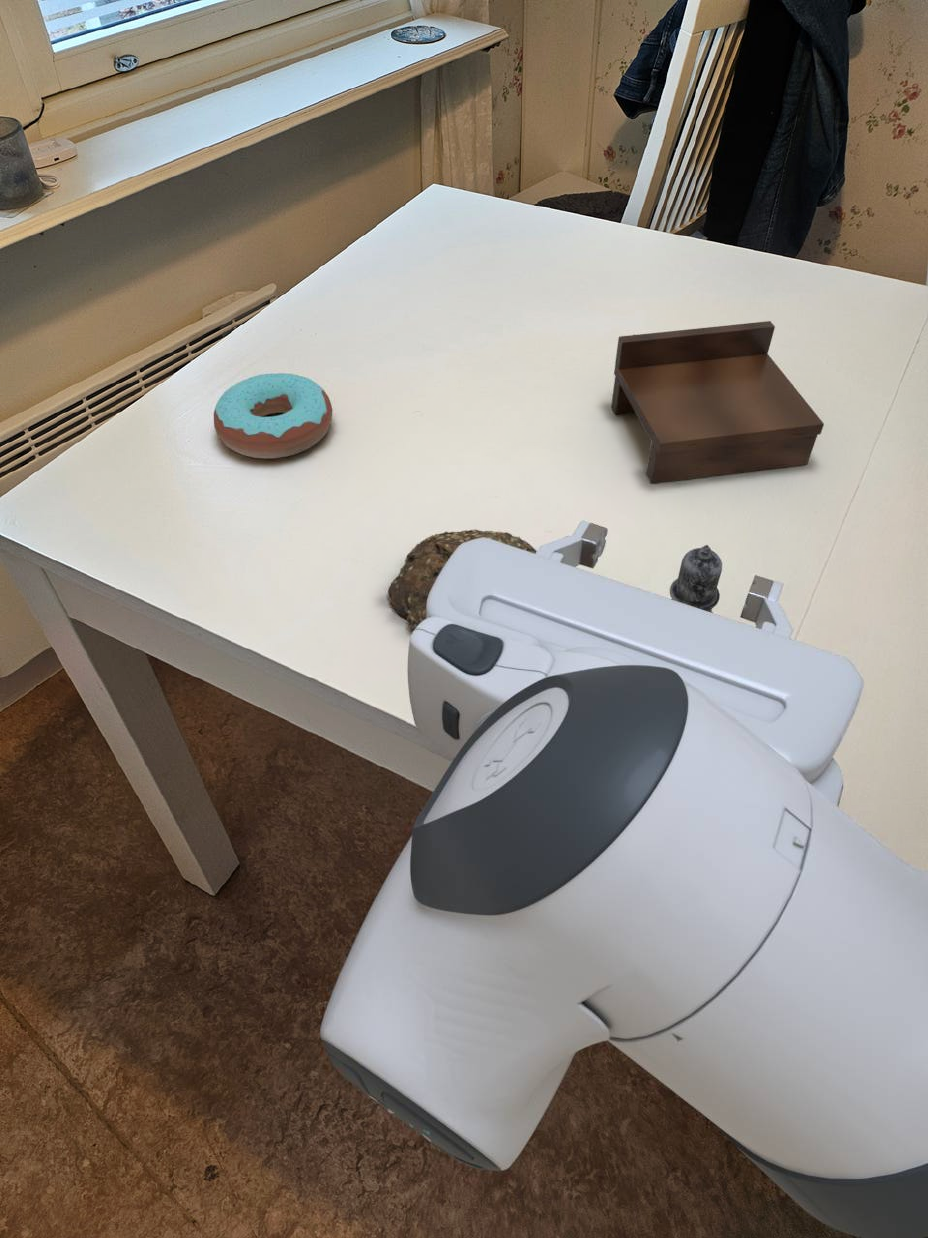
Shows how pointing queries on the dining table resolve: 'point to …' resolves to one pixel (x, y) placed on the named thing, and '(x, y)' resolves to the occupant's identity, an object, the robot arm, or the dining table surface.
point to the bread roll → (434, 569)
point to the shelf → (712, 402)
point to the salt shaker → (698, 579)
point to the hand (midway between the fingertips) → (677, 559)
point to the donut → (276, 434)
